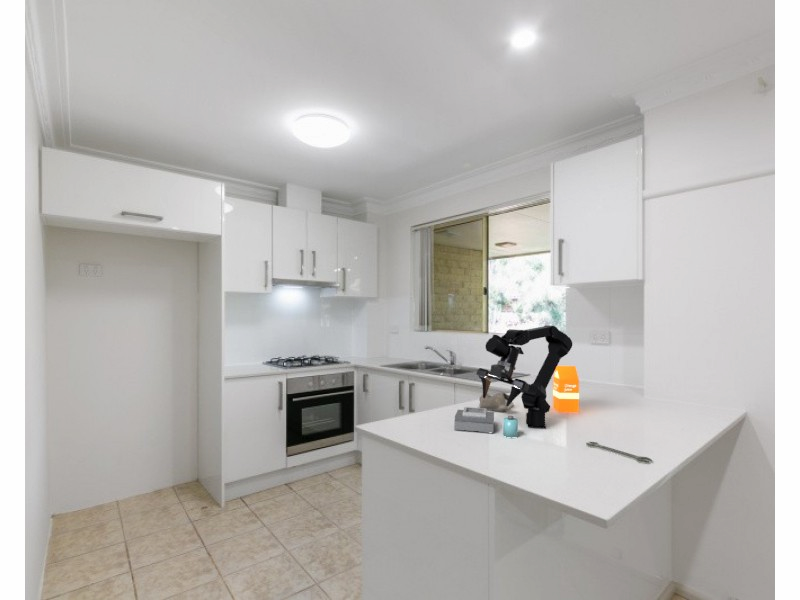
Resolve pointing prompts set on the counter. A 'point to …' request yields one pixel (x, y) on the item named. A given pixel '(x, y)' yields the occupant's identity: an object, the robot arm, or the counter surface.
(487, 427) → the square aluminium tube flange
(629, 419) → the counter surface
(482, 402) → the pipe
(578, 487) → the counter surface
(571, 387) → the orange juice
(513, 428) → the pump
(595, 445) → the wrench
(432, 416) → the counter surface
